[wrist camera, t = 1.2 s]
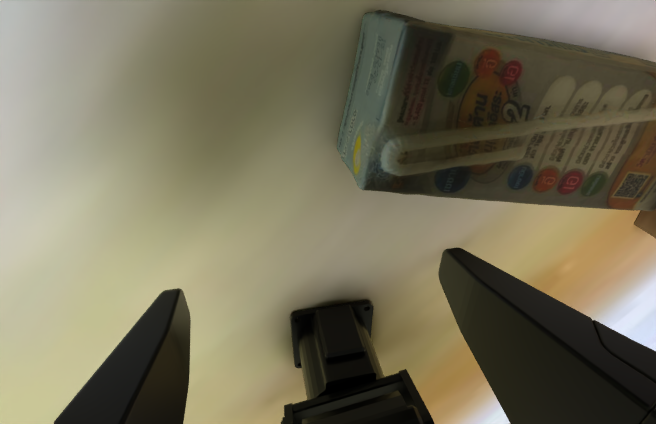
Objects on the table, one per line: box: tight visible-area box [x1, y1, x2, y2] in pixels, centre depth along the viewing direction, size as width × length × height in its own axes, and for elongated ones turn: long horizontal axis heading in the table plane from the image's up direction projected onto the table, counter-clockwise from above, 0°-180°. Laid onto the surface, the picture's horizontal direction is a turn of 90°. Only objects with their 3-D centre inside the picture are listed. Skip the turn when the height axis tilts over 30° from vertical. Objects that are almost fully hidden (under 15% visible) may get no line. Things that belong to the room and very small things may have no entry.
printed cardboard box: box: [337, 10, 656, 211], centre depth 20 cm, size 8×19×6 cm, turn 79°
